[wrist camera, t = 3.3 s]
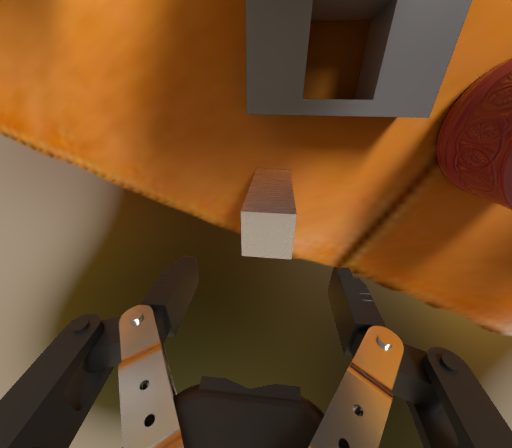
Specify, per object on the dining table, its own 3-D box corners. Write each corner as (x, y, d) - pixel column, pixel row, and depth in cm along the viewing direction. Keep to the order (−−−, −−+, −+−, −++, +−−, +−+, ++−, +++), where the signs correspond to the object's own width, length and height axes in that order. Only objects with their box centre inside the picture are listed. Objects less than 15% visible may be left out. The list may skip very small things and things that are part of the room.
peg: (289, 169, 26) (296, 214, 15) (287, 200, 27) (291, 259, 17) (256, 168, 26) (240, 211, 15) (256, 199, 28) (241, 255, 17)
